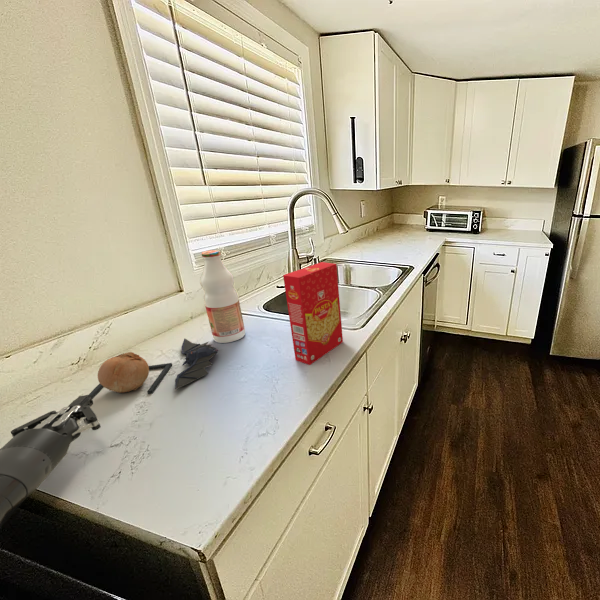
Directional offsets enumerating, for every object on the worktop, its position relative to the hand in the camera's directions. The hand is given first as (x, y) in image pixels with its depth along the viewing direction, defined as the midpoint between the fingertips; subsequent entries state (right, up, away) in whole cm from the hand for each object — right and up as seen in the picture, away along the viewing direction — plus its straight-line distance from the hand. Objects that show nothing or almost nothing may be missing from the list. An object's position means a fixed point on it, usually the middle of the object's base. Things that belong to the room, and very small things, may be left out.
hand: (86, 399), depth 66 cm
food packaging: (+40, +5, +30) cm, 51 cm away
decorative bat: (+8, +3, +25) cm, 27 cm away
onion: (-3, -2, +14) cm, 15 cm away
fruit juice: (+9, +8, +39) cm, 41 cm away
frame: (-4, -1, +16) cm, 16 cm away
